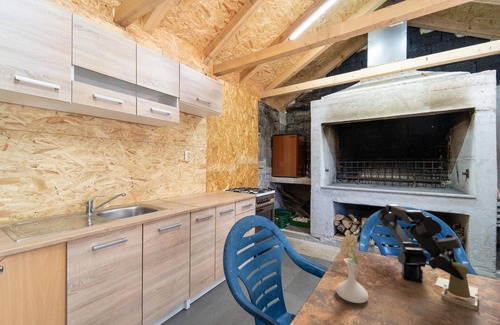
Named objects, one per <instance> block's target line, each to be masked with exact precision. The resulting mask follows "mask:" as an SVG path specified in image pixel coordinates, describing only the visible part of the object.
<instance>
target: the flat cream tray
mask: <svg viewBox="0 0 500 325" xmlns="http://www.w3.org/2000/svg"><path fill="white" fill-rule="evenodd" d="M446 293H447V289H446V285H444V288H442V290H441V297H440V298H441V299H442V300H445V301H447V302H450V303H453V304H456V305H458V306H463V307H465V308H468V309H470V310H473V311H478V301H479V300H478V299H479V296H478V295H479V294H478V295H477V294H475V298H474V303H470V302H468V301H467V302H466V301H464V300H461V299H459V298H454V297H452V296H449V295H446Z"/></svg>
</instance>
